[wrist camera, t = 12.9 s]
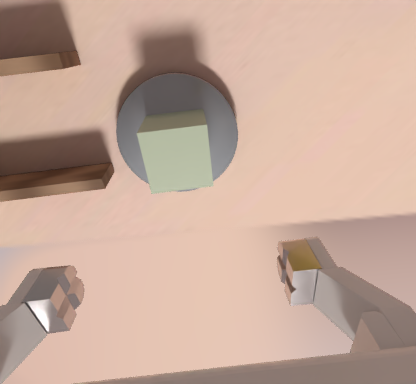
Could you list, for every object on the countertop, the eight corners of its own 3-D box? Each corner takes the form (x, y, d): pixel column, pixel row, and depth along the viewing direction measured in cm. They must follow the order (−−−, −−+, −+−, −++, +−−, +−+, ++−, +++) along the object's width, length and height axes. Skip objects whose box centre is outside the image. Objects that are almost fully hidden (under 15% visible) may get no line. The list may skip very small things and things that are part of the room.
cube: (202, 108, 23) (207, 124, 19) (208, 161, 26) (213, 186, 21) (145, 115, 23) (136, 133, 19) (157, 167, 25) (151, 193, 21)
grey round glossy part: (232, 65, 23) (234, 66, 22) (238, 179, 28) (240, 184, 27) (104, 80, 22) (100, 82, 21) (135, 192, 28) (133, 197, 27)
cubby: (76, 50, 21) (58, 52, 18) (114, 171, 27) (105, 188, 24) (-95, 71, 21) (-141, 76, 18) (-22, 188, 26) (-48, 207, 23)
